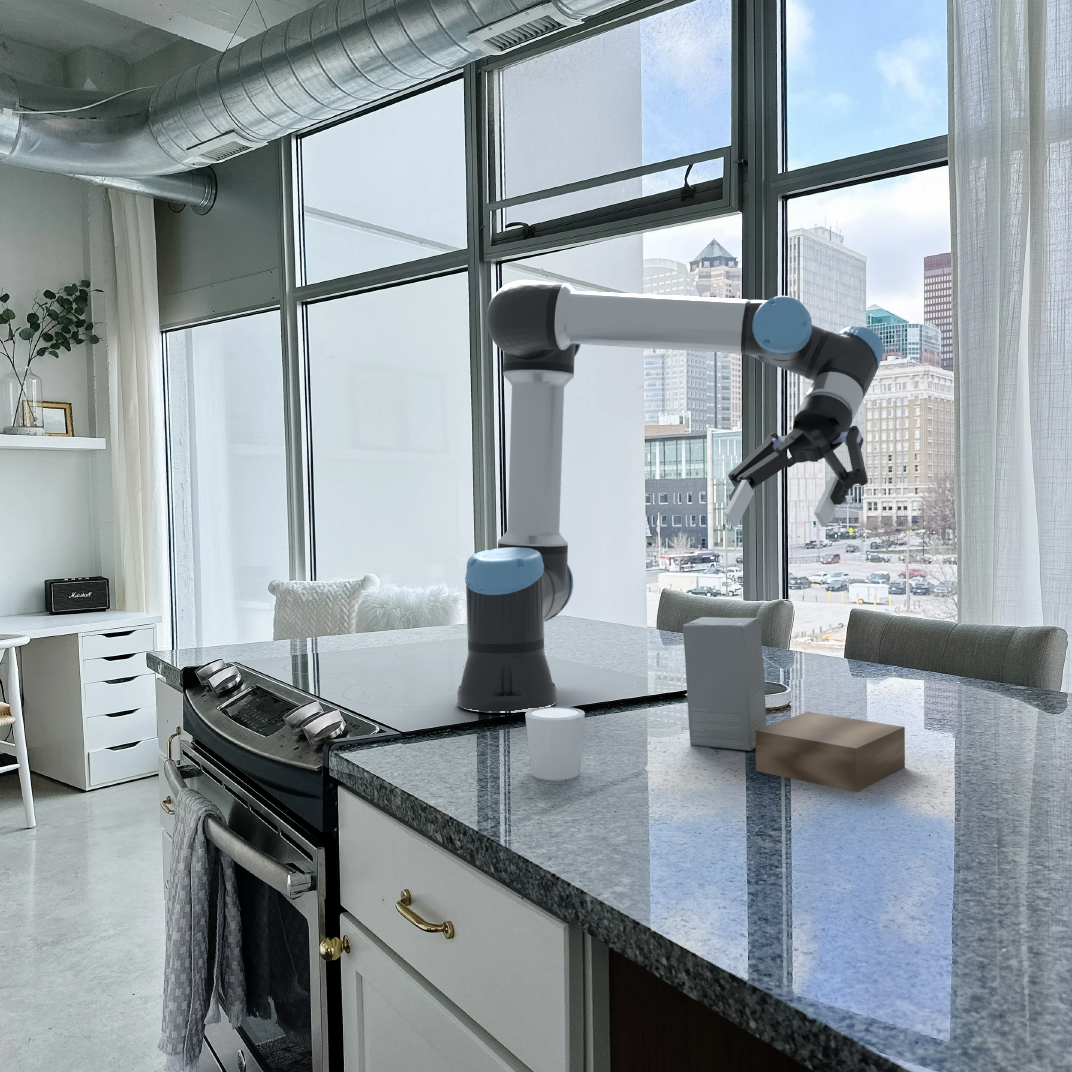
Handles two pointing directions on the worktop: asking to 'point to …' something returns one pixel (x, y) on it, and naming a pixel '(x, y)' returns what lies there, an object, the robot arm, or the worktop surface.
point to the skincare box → (724, 681)
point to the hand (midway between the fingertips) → (773, 520)
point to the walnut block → (831, 750)
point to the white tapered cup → (555, 742)
